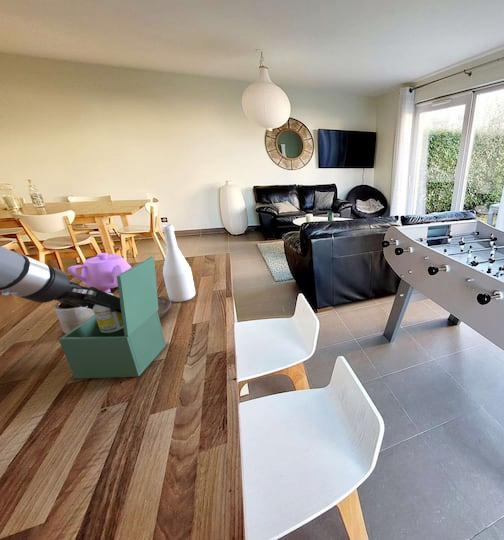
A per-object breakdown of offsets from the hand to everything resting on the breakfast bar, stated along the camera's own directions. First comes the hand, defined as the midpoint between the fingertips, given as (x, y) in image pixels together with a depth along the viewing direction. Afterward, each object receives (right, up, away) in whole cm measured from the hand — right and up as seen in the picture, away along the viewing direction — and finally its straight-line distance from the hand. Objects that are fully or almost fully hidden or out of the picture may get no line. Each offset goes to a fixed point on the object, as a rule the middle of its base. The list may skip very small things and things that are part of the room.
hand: (121, 310), depth 80 cm
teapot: (-40, +3, +42) cm, 58 cm away
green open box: (-1, -15, +2) cm, 15 cm away
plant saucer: (-12, -5, +24) cm, 27 cm away
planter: (-25, -8, +16) cm, 31 cm away
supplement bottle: (0, -5, -2) cm, 5 cm away
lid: (+9, +5, -5) cm, 11 cm away
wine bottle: (-6, 0, +38) cm, 38 cm away
